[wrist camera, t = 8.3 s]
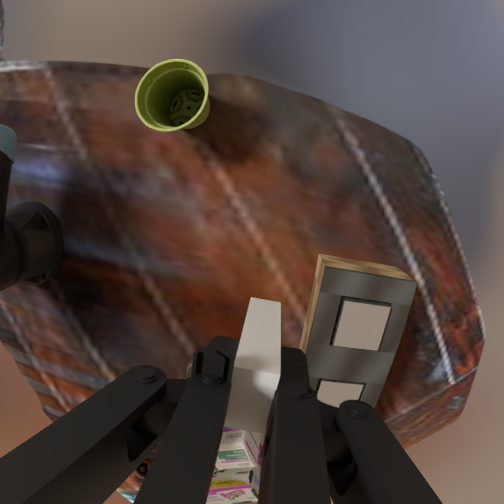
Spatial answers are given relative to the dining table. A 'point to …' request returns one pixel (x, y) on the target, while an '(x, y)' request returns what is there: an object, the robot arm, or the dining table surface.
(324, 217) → the dining table surface
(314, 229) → the dining table surface
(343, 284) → the socket block
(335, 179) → the dining table surface
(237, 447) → the syrup box
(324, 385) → the seated peg
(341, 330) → the peg
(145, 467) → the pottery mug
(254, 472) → the candy bar box
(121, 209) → the dining table surface
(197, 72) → the plant pot
